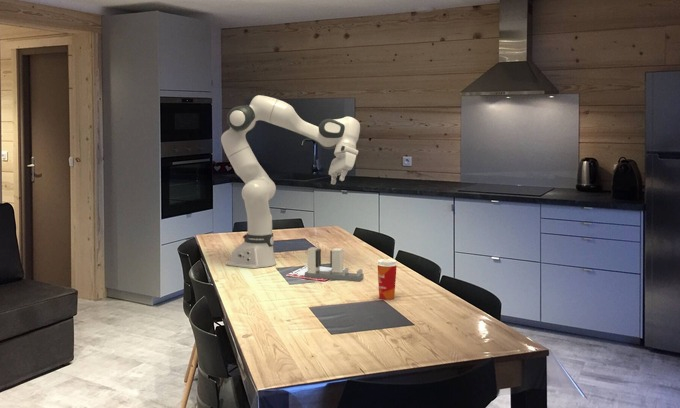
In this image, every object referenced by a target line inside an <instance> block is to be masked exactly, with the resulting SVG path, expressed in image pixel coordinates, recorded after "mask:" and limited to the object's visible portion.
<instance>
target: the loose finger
mask: <svg viewBox="0 0 680 408" xmlns="http://www.w3.org/2000/svg"><path fill="white" fill-rule="evenodd" d="M329 257H330V261H329V262H330V264H329V265H330V268H331V272H342V273H343V270H344V248H343V247H342V248H341V247H335V248H332V249H331V250H330V256H329Z"/></svg>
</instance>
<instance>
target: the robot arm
mask: <svg viewBox="0 0 680 408" xmlns="http://www.w3.org/2000/svg"><path fill="white" fill-rule="evenodd" d="M257 121H263V122H265V123H268V124H272V125H274V126H276V127H277V126H278V127H280V128H283V129H286V130H289V131H292V132H294V133H295V134H298V135H301V136H303V137H305V138H307V139H311V140H312V141H314V142H316V143H317V144H318V145H320V146H321V148H323V149H324V150H325V149H326V150H333V149H334V152H333V155H334V156H335V158H333V159H332V160H331V163H330V166H329V170H328V175H329V176H330V177H331V181H330V184H331V185H336V183H337V178H338V176H339V181H341V182H343V181H345V178H346V176H347V174H348V172H349V171H351V170H352V169H353V168H354V165H355V163H356V159H357V156H358V154H359V150H358V149H357V143H358V141H359V137H360V132H361V124H360V122H359V120H357V119H356V118H355V117H353V116H349V115H348V116H344V117H342V118H336V119H335V118H334V119H332V118H326V119H323V120H322V121H321V122H320V123H319V125H318V126H317V125H314V124H312V123H309V122H307V121H305V120H303V119H302V118H301V117H300V116H299V115H298V113H297V112H296V111H295V108H294V107H293V106H292V105H290V103H287V102H286V101H284V100H280V99H278V98H275V97H270V96H266V95H261V94H260V95H259V94H258V95H256V96H254V97H252V100H251V101H250V103H249V104H245V105H237V106H235V107H233V108H231V109H229V111H228V112H227V115H226V122H227V124H228V126H229V129H227V130H226V131H224V132H223V133H222V135H221V137H220V142H221V145H222V148H223V150H224V153H225V154H226V157H227V159H228V161H229V162H230V165H231V167H232V168H233V170H234V173H235V174H236V175H237V176H238V177H239V178H240V179H241V180H242V181H243V183H244V186H243V188H241V197H242V200H243V201H244V206H245V207H244V208H245V212H246V216H247V217H246V218H247V219H246V221H247V233H246V234H244V235H242V239H243V240H244V241H243V242H241V243H240V244H239V245H238V246H237V247H236V248H234V249H233V250H232V253H231V257H230V258H231V259H229V260H227V261H226V263H225V264H226V266H231V267H239V268H245V269H256V268H257V269H258V268H267V267H272V266H275V265H276V264H277V262H276V261H277V260H276V258H275V254H274V243H275V242H274V240H275V239H274V233H273V215H272V213H271V209H270V204H269V201H270V200H271V199H272V198H273V197H274V196H275V194H276V190H277V187H276V184H275V182H274V181H273V180H272V179H271V178H270V177H269V174H267V172H266V171H265V169H264V168H263V167H262V165H260V163H259V161H258V159H257V157H256V156H255V154H254V152H253V151H252V148H251V146H250V144H249V142H248V141H247V138H246V136H248V135H249V134H250V133H251V131H252V130H254V129H255V127H256V125H257Z"/></svg>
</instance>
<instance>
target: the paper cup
mask: <svg viewBox="0 0 680 408" xmlns="http://www.w3.org/2000/svg"><path fill="white" fill-rule="evenodd" d="M397 262H398V261H397V260H396V259H394V258H382V259H378V260H377V262H376V265H377V282H378V283H377V285H378V297H379V299H380V300H387V301H388V300H394V298H395V293H396V282H397V281H396V280H397V279H396V278H397V267H398V263H397Z"/></svg>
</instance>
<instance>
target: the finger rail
mask: <svg viewBox="0 0 680 408" xmlns="http://www.w3.org/2000/svg"><path fill="white" fill-rule="evenodd" d="M306 251H307V252H306V253H307V270H306V271H305V272H304V278H306V277H311V278H310V279H319V278H323V279H322V280H334V281H347V282H348V281H349V282H362V281H363V280H364V273H363V269H362V268H360V269H358V270H357V271H356V273H353V272H349V267H346V268H345V269H344V268H343V271H342V272H332V271H327V270H326V271H324V270H320V267H321V266H322V253H321V252H322V249H321V248H320V247H316V246H315V247H314V246H311V247H309V248H308V249H307V250H306Z"/></svg>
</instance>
